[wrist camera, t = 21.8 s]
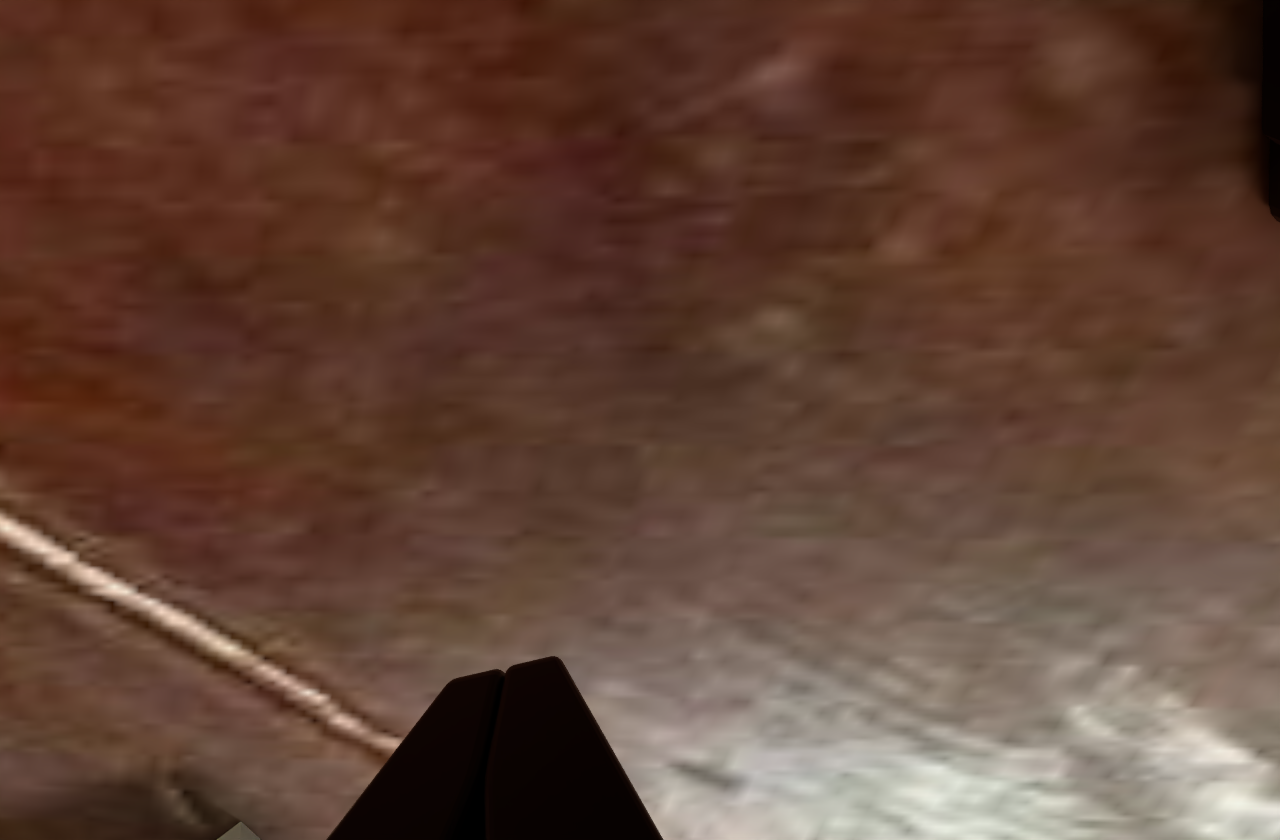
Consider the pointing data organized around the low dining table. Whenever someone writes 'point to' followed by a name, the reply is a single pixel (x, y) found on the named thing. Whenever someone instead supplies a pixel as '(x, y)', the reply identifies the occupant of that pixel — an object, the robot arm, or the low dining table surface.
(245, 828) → the sage domino
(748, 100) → the low dining table surface
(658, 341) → the low dining table surface
